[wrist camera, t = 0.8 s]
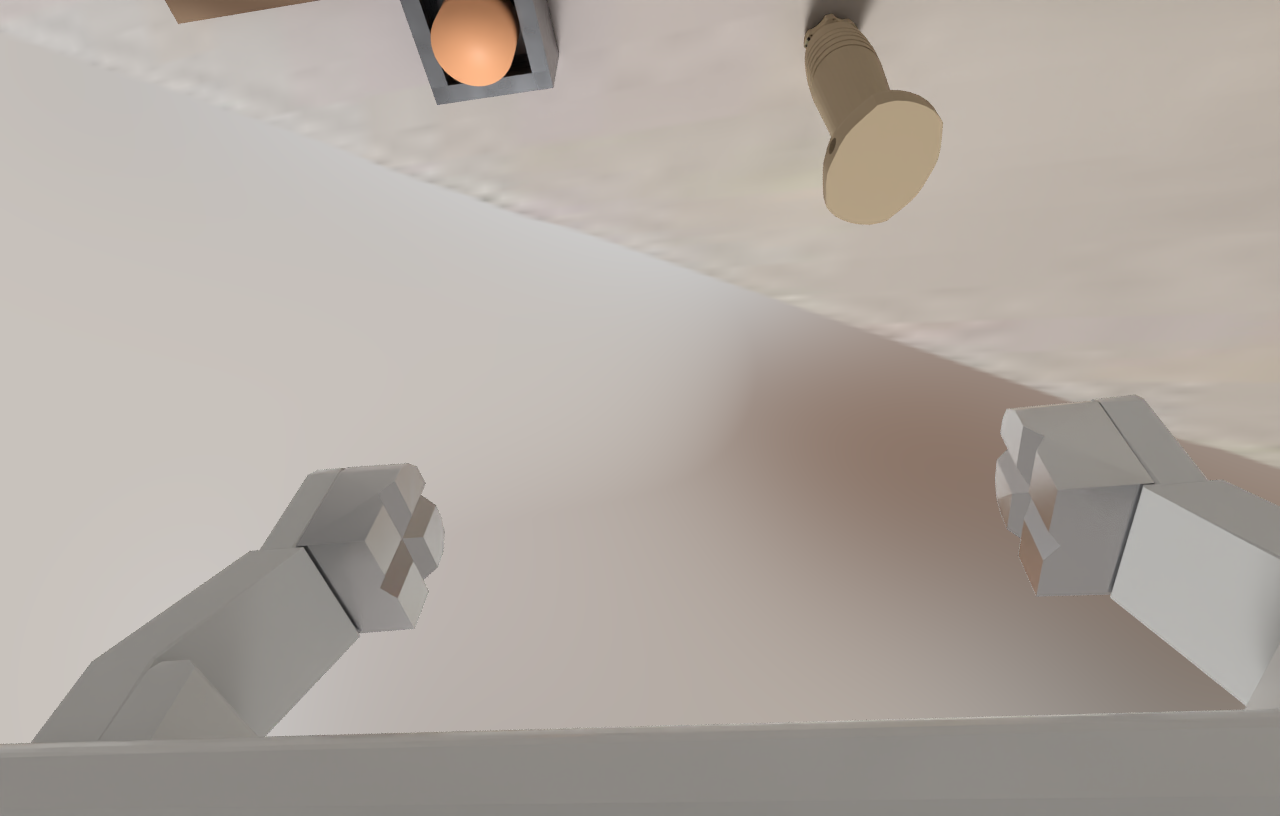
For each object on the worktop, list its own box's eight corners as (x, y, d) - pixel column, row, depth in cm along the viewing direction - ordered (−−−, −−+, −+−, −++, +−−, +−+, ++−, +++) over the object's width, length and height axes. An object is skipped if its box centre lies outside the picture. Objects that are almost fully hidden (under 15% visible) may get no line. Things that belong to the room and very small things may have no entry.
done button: (429, -12, 41) (418, 8, 39) (507, -26, 41) (500, -5, 38) (455, 68, 44) (446, 91, 42) (528, 57, 44) (522, 80, 42)
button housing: (409, -53, 42) (391, -25, 39) (530, -73, 41) (521, -47, 38) (450, 71, 47) (437, 104, 44) (559, 55, 47) (553, 87, 44)
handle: (772, 80, 48) (807, 212, 38) (813, -28, 43) (867, 89, 33) (841, 99, 49) (894, 233, 38) (890, -5, 44) (965, 115, 34)
